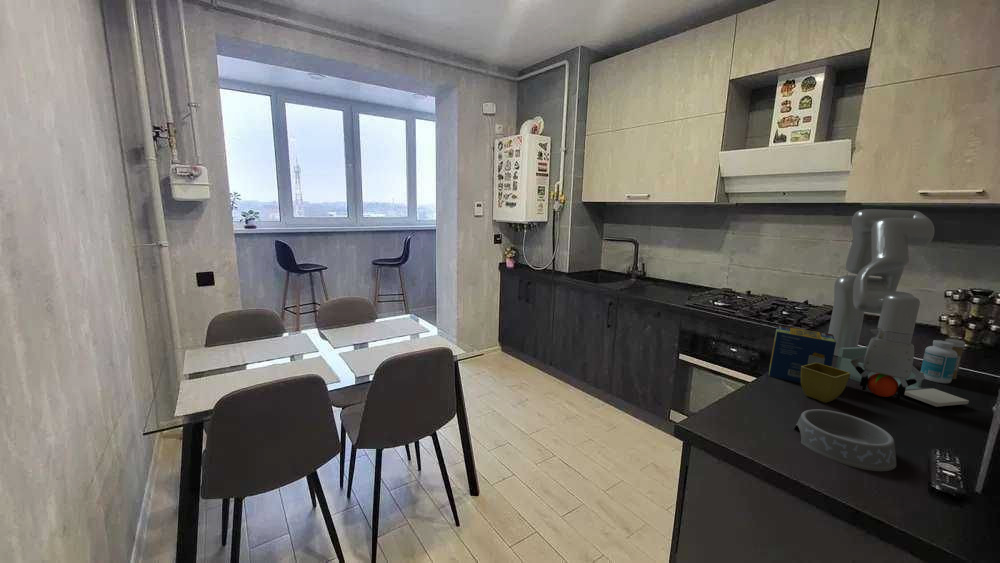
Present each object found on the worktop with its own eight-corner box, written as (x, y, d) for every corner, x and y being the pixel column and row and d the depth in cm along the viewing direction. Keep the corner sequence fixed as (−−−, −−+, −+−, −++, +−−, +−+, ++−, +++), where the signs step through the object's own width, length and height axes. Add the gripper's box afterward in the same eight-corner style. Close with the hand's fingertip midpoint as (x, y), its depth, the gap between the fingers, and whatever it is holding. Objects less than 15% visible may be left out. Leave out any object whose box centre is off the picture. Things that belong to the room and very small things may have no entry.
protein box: (769, 367, 140) (776, 324, 138) (824, 379, 132) (833, 334, 129) (768, 376, 132) (775, 331, 129) (827, 389, 123) (837, 341, 121)
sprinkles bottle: (957, 378, 140) (966, 341, 137) (954, 380, 137) (964, 343, 135) (938, 373, 143) (947, 337, 141) (935, 375, 141) (944, 339, 139)
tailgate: (898, 389, 121) (936, 403, 112) (929, 386, 124) (969, 400, 115) (897, 392, 121) (935, 406, 112) (929, 389, 124) (968, 403, 116)
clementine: (886, 403, 116) (892, 379, 115) (857, 392, 122) (862, 370, 121) (900, 399, 119) (906, 376, 118) (872, 389, 125) (876, 368, 124)
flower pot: (829, 407, 111) (835, 377, 109) (794, 394, 118) (800, 365, 117) (845, 402, 115) (851, 372, 113) (810, 390, 122) (816, 362, 121)
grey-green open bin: (834, 372, 139) (839, 347, 137) (863, 370, 142) (868, 346, 140) (892, 394, 122) (898, 366, 121) (923, 392, 126) (930, 364, 124)
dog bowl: (807, 457, 87) (811, 434, 86) (786, 419, 103) (790, 400, 102) (910, 482, 80) (916, 457, 79) (871, 437, 96) (876, 416, 96)
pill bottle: (943, 378, 139) (952, 341, 136) (956, 386, 132) (966, 347, 130) (914, 373, 142) (923, 337, 139) (925, 381, 135) (935, 342, 133)
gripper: (853, 331, 121) (841, 386, 124) (937, 346, 109) (922, 408, 112) (855, 327, 126) (844, 380, 129) (936, 342, 114) (922, 400, 117)
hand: (880, 392), depth 120 cm, fingers closed on clementine, 7 cm apart
